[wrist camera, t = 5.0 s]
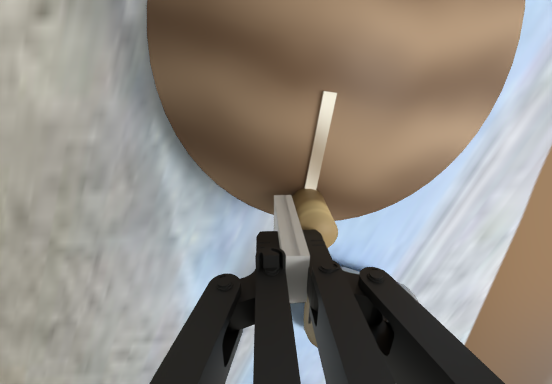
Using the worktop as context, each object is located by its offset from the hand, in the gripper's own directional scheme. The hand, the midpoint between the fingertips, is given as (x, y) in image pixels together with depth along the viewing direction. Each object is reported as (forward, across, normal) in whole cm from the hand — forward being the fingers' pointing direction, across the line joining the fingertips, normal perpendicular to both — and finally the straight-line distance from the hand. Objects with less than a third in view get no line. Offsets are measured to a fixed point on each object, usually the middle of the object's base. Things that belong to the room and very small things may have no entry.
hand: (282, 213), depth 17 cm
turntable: (+2, +3, +9) cm, 10 cm away
